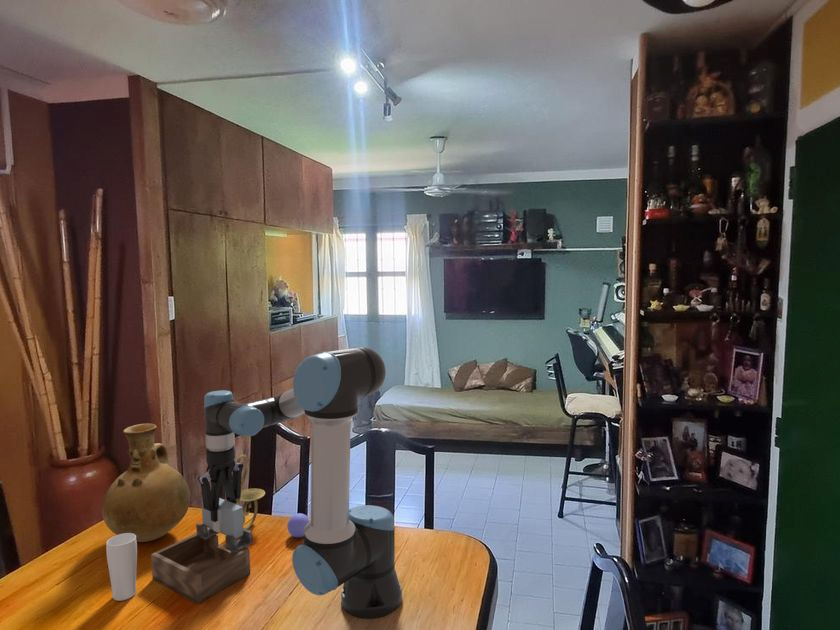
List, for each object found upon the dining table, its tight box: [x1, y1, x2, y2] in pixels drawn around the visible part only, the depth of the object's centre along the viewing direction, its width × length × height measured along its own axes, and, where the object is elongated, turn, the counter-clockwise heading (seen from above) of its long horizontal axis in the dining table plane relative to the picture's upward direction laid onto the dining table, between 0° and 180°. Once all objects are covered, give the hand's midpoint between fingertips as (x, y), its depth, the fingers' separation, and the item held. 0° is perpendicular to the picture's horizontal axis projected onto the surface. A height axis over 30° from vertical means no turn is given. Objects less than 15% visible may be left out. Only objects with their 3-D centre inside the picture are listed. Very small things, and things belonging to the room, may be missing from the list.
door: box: [201, 497, 244, 539], centre depth 152 cm, size 14×4×8 cm, turn 57°
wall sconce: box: [236, 454, 266, 530], centre depth 171 cm, size 14×10×25 cm
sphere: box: [286, 512, 311, 538], centre depth 168 cm, size 7×7×7 cm
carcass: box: [150, 522, 253, 605], centre depth 147 cm, size 20×18×11 cm
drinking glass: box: [105, 533, 138, 602], centre depth 137 cm, size 7×7×15 cm
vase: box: [101, 423, 191, 543], centre depth 166 cm, size 24×24×35 cm
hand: (223, 528), depth 152 cm, fingers closed on door, 3 cm apart
